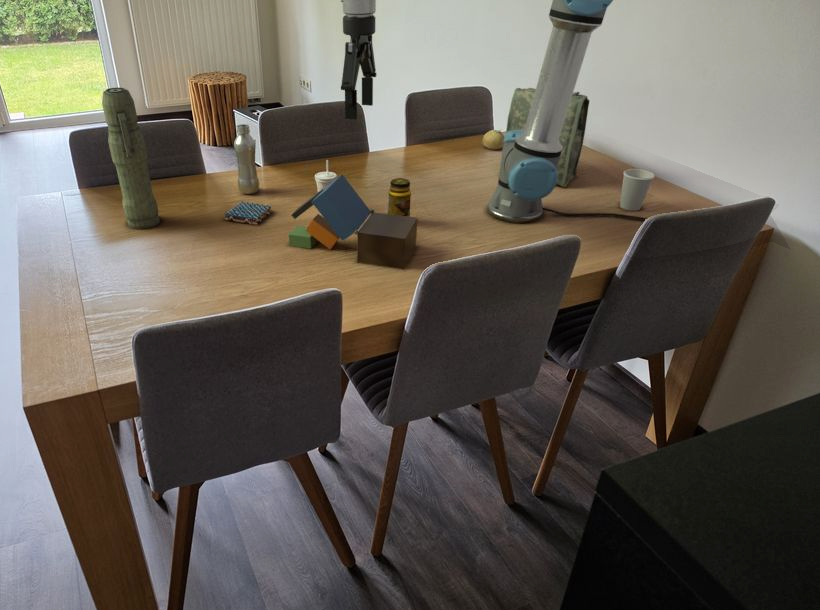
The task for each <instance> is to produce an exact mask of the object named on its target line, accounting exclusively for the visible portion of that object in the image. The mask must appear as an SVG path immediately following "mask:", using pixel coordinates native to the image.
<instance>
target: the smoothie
mask: <svg viewBox="0 0 820 610" xmlns="http://www.w3.org/2000/svg"><path fill="white" fill-rule="evenodd" d="M325 161H326V166H325V167H326V171H320V172H317V173H315V174H314V180H315V183H316V188H317V193H318V192H319V191H321V190H322V189H323V190H324V189H325V188H326V187H327V186H328V185H329V184H330V183H331V182H333V181H334V180H335V179H337V178H338V175H337V174H336V173H335V172H333V171H329V170H330V169H329V168H330V167H329V159H326V160H325Z"/></svg>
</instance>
